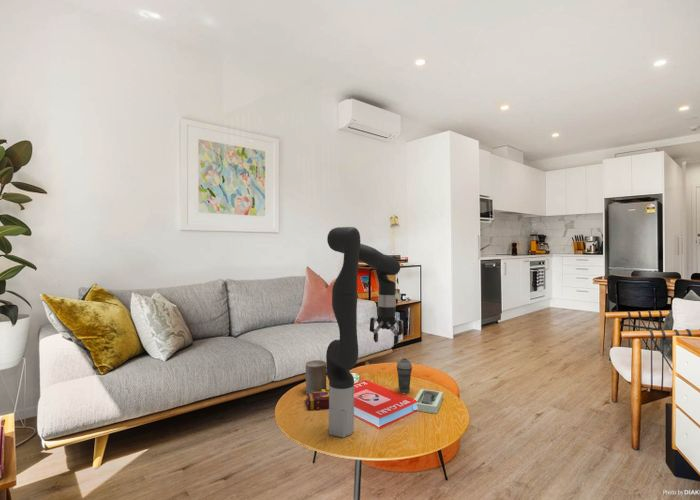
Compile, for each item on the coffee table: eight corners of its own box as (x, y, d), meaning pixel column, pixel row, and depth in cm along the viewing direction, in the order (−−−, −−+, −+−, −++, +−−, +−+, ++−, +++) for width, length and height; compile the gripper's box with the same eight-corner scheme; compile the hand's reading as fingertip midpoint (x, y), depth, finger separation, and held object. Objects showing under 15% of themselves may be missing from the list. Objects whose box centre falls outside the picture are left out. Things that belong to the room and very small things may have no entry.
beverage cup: (407, 396, 177) (407, 352, 177) (393, 392, 181) (393, 349, 181) (414, 391, 183) (415, 349, 182) (401, 388, 187) (401, 346, 187)
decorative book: (343, 408, 164) (343, 397, 164) (305, 411, 161) (305, 399, 161) (339, 398, 175) (339, 387, 175) (303, 400, 172) (303, 389, 172)
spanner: (430, 409, 161) (430, 402, 161) (419, 407, 163) (419, 400, 163) (435, 398, 173) (435, 391, 173) (425, 396, 175) (425, 390, 175)
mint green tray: (436, 414, 159) (436, 406, 159) (412, 410, 162) (412, 402, 162) (442, 398, 174) (443, 392, 174) (420, 395, 178) (420, 388, 178)
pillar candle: (330, 391, 183) (330, 359, 183) (318, 397, 175) (318, 364, 175) (313, 387, 188) (313, 356, 188) (301, 393, 180) (301, 361, 180)
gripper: (368, 304, 166) (367, 343, 165) (400, 307, 160) (399, 347, 160) (373, 302, 172) (373, 339, 172) (405, 305, 167) (404, 343, 167)
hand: (385, 343), depth 166 cm, fingers open, 8 cm apart
